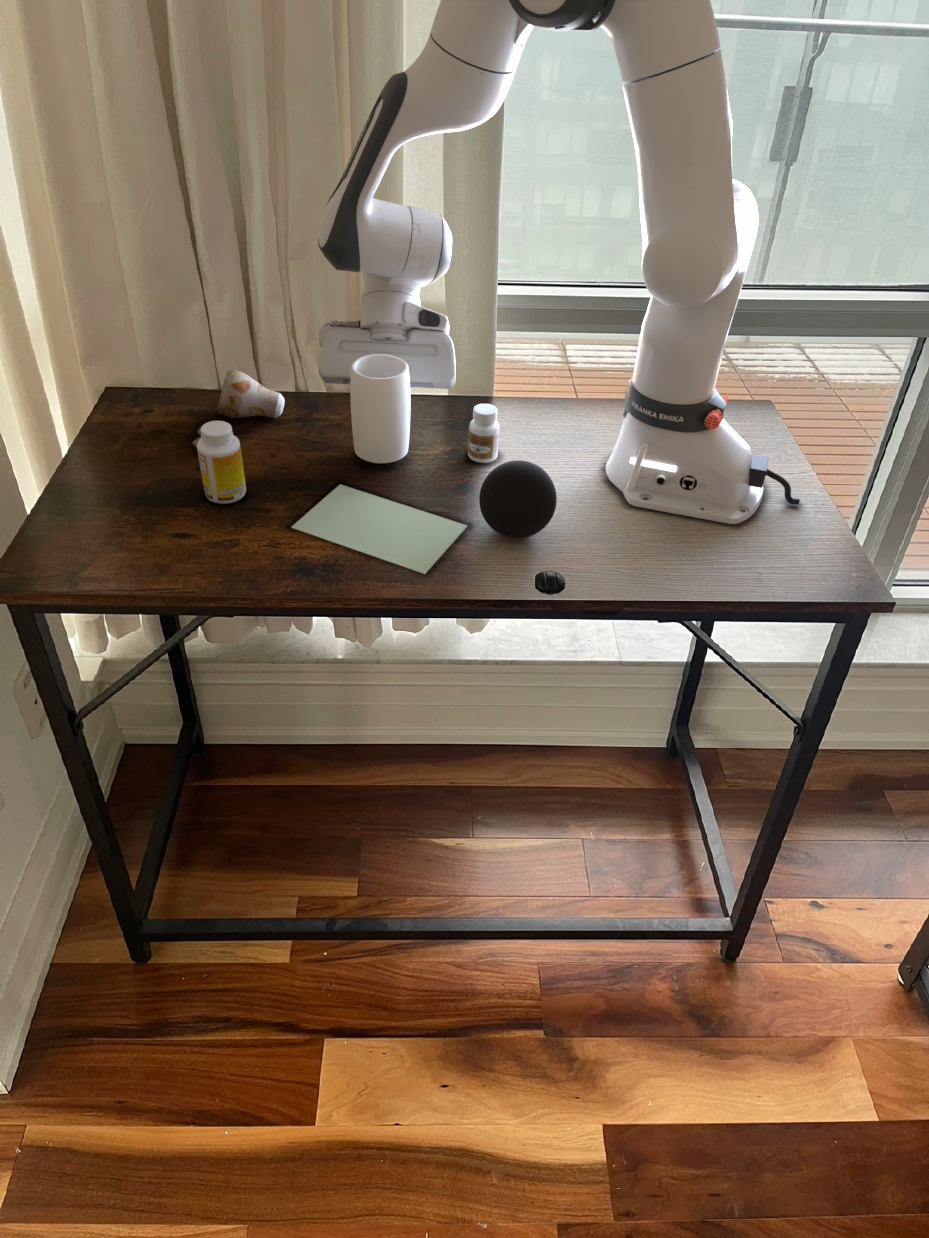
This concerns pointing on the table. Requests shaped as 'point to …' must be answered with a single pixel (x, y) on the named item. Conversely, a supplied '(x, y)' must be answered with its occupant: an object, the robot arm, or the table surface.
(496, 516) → the speaker
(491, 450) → the pill bottle
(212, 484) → the supplement bottle
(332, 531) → the mat
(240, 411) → the white spotted container
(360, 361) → the cup
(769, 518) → the table surface
